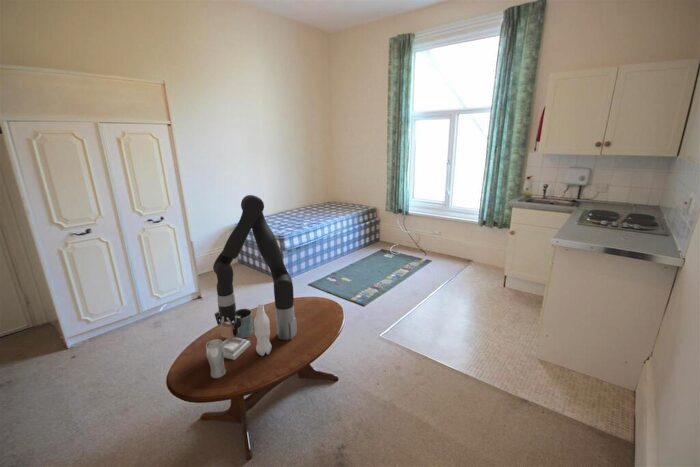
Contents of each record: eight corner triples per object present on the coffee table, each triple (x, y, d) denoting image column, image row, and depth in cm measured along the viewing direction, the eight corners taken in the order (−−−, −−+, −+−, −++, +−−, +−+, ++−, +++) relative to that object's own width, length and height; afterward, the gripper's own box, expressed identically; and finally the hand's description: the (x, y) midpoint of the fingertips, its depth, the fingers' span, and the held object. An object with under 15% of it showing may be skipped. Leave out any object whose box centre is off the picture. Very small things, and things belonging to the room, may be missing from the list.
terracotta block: (238, 332, 153) (237, 321, 152) (231, 338, 148) (230, 327, 147) (229, 330, 155) (228, 319, 153) (221, 336, 150) (220, 325, 148)
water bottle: (258, 359, 147) (253, 311, 140) (255, 350, 153) (250, 304, 146) (273, 354, 150) (269, 307, 143) (269, 346, 157) (266, 300, 150)
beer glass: (212, 368, 141) (208, 339, 137) (228, 367, 142) (225, 338, 138) (207, 379, 135) (202, 349, 130) (224, 378, 135) (220, 348, 131)
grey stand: (250, 344, 158) (249, 338, 157) (234, 359, 147) (234, 353, 146) (230, 340, 161) (229, 334, 160) (213, 354, 150) (212, 348, 149)
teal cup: (254, 337, 164) (252, 316, 161) (233, 341, 161) (231, 320, 157) (253, 326, 173) (251, 307, 170) (233, 330, 170) (231, 310, 166)
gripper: (244, 300, 148) (247, 332, 153) (219, 295, 153) (223, 326, 157) (234, 308, 141) (237, 341, 146) (208, 303, 146) (212, 335, 150)
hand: (230, 333), depth 152 cm, fingers closed on terracotta block, 5 cm apart
